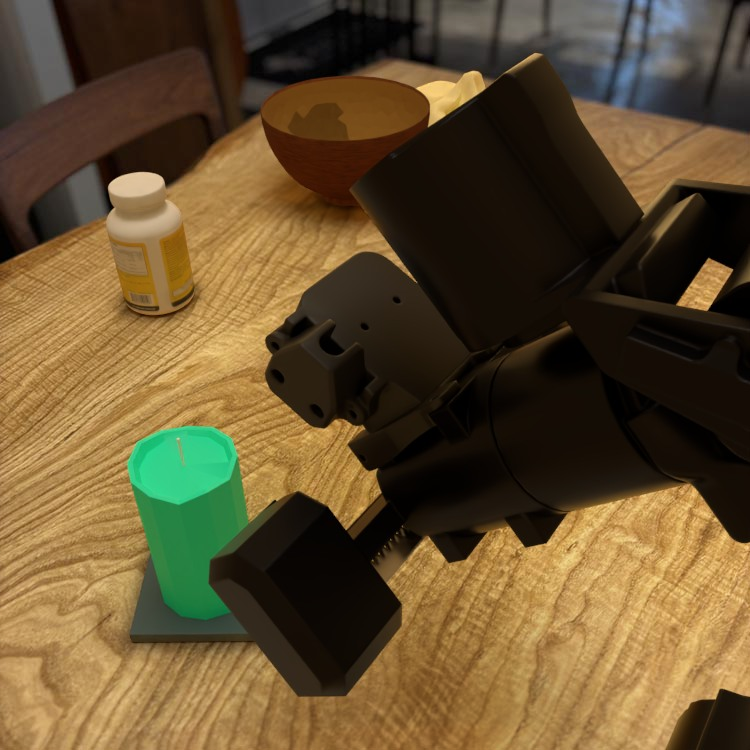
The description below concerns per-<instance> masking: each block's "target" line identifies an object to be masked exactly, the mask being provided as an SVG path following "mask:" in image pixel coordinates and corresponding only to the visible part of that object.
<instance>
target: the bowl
mask: <svg viewBox="0 0 750 750" xmlns="http://www.w3.org/2000/svg"><path fill="white" fill-rule="evenodd" d="M429 118H430V103H429V100H428V99H427V97H426V96H425V95H424V94H423V93H422V92H420V91H419V90H417V89H415V87H414V86H412V85H409V84H407V83H403V82H400V81H396V80H392V79H389V78H384V77H377V76H366V75H338V76H337V75H336V76H325V77H318V78H310V79H307V80H303V81H299V82H296V83H295V82H294V83H293V84H289V85H287V86H284V87H282V88H279V89H278V90H276V91H274V92H272V93H271V94H270V95H269V96H268V97H266V99H264V100H263V102H262V104H261V106H260V119H261V125H262V128H263V132H264V135H265V138H266V141H267V143H268V146H269V148H270V150H271V151H272V153H273V156H274V157H275V158H276V159H277V161H278V163H279V164H280V165H281V167H282V168H283V169H284V171H285V172H286V174H288V175H289V176H290V177H291V178H292V179H293V180H294V181H295V182H296V183H298V184H299V185H300V186H302V187H303V188H305V189H306V190H309V191H311V192H313V193H314V194H317V195H320V196H321V198H322V199H323V200H324V201H325V202H327V203H329V204H331V205H334V206H340V207H354V206H360V204H359V203H358V202H357V200H356V199H355V197H354V196H353V195H352V193H351V192H350V191H349V189H350V188H351V187H352V186H353V185H354V184H355V183H356V182H357V181H358V180H359V179H360V178H361V177H362V176H363V175H364V174H365V173H366V172H368V171H369V170H370V169H371V168H372V167H373V166H375V165H376V164H377V163H378V162H379V161H380V160H382V159H383V158H384V157H385V156H387V155H388V154H389V153H390V152H392V151H393V150H395V149H396V148H398V147H399V146H401V145H402V144H404V143H405V142H407V141H408V140H410V139H411V138H413V137H414V136H416V135H417V134H419V133H420V132H422V131H423V130H425V129H426V128H428V124H429Z"/></svg>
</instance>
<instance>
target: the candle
mask: <svg viewBox="0 0 750 750" xmlns="http://www.w3.org/2000/svg"><path fill="white" fill-rule="evenodd" d="M128 458H129V459H128V460H127V463H126V467H127V472H128V476H129V480H130V481H129V482H130V485H131V489H132V492H133V496H134V499H135V500H134V501H135V503H136V506H137V510H138V514H139V517H140V520H141V524H142V527H143V532H144V534H145V539H146V542H147V545H148V549H149V554H150V553H151V557H152V560H153V564H154V567H155V571H156V574H157V578H158V581H159V585H160V589H161V592H162V596H163V599H164V603H165V604H167V605H168V606H169V607H170V608H171V609H173V610H174V611H175V612H176V613H177V614H179V615H180V616H181V617H188V618H195V619H202V620H208V619H211V618H214V617H218V616H221V615H224V614H227V613H231V612H230V610H229V609H228V608H227V607H226V605H225V604H224V603H223V601H222V600H221V599H220V598H219V596H218V595H217V594H216V593H215V591H214V590H213V589H212V588H211V586H210V585H209V584H208V582H209V566H210V559H212V558H213V557H214V556H215V555H216V554H217V553H218V552H219V551H220V550H221V549H222V548H223V547H224V546H225V545H226V544H228V543H229V542H230V541H231V540H232V539H233V538H234V537H235V536H236V535H237V534H238V533H239V532H240V531H241V530H242V529H244V528H245V527H246V526H247V525H248V524H249V523H250V522H249V514H248V510H247V508H248V507H247V502H246V497H245V490H244V485H243V484H244V483H243V479H242V473H241V466H240V460H239V455H238V452H237V448H236V446H235V444H234V440H233V438H232V437H230V436H229V435H228V434H226V433H224V432H222V431H221V430H219V429H218V428H216V427H214V426H200V425H199V426H198V425H185V426H179V427H173V428H166V429H159V430H158V431H156V432H154V433H152V434H150V435H148V436H146V437H144V438H142V439H140V440H138V441H137V442H136V443H135V445H134V448H133V450H132V452H131V453H130V457H128Z"/></svg>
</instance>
